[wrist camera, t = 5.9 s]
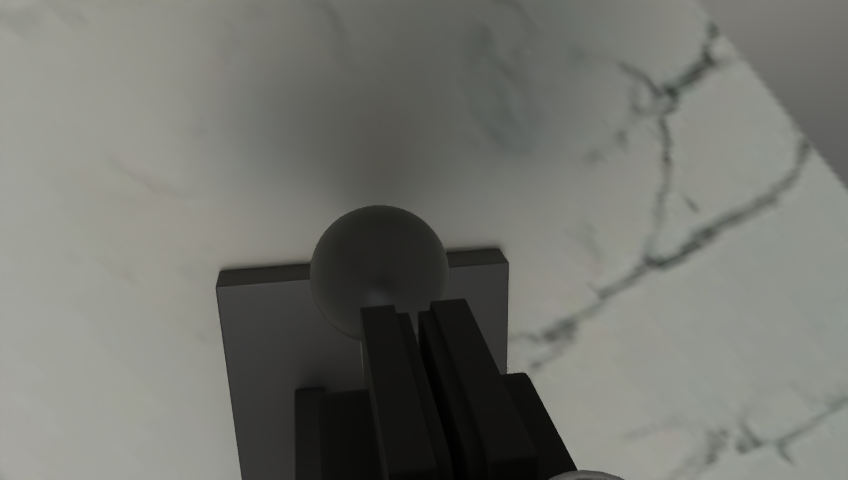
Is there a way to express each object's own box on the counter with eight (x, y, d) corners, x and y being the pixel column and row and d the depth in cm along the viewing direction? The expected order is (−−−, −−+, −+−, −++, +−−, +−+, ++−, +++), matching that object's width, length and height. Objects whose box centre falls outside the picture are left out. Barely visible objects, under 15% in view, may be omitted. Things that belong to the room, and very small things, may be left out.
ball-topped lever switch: (306, 216, 19) (302, 204, 16) (432, 206, 19) (453, 193, 16) (344, 705, 18) (348, 795, 15) (472, 684, 19) (503, 767, 16)
